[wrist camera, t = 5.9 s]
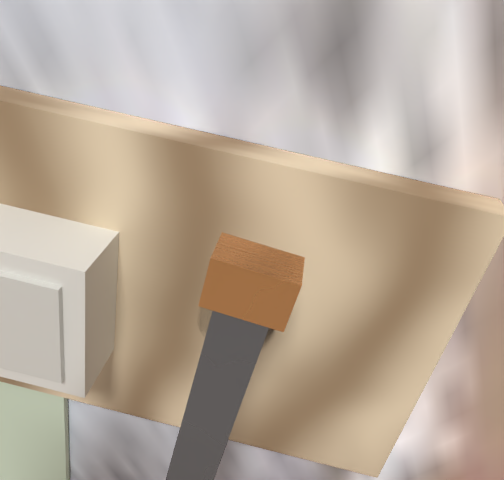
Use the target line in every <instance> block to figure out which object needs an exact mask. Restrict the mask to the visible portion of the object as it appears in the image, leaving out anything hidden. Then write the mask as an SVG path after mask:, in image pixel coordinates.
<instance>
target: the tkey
mask: <svg viewBox="0 0 504 480" xmlns="http://www.w3.org/2000/svg"><path fill="white" fill-rule="evenodd" d="M304 261H305V257H302V256H298V255H295V254H292V253H289V252H285V251H282V250H279V249H275V248H272V247H269V246H266V245H262V244H259V243H256V242H253V241H249V240H246V239H243V238H240V237H236V236H233V235H230V234H226V233H223V232H222V233H221V235H220V238H219V240H218V242H217V244H216V247H215V249H214V251H213V254H212V256H211V258H210V262H209V266H208V270H207V274H206V278H205V282H204V285H203V289H202V293H201V297H200V301H199V305H198V306H199V307H202V308H206V309H209V310H212V315H211V318H210V322H209V326H208V329H207V333H206V336H205V340H204V344H203V347H202V351H201V354H200V358H199V362H198V365H197V369H196V372H195V376H194V380H193V383H192V387H191V390H190V394H189V398H188V401H187V405H186V408H185V412H184V416H183V419H182V423H181V427H180V430H179V434H178V437H177V441H176V445H175V448H174V452H173V455H172V459H171V463H170V466H169V470H168V473H167V477H166V480H214V477H215V474H216V472H217V469H218V466H219V463H220V461H221V458H222V455H223V452H224V450H225V447H226V444H227V441H228V439H229V436H230V433H231V431H232V428H233V425H234V422H235V420H236V417H237V414H238V411H239V409H240V406H241V403H242V401H243V398H244V395H245V392H246V390H247V387H248V384H249V381H250V379H251V376H252V373H253V370H254V368H255V365H256V362H257V360H258V357H259V354H260V351H261V349H262V346H263V343H264V340H265V338H266V335H267V332H268V329H269V328H271V329H274V330H277V331H281V332H284V330H285V328H286V325H287V323H288V320H289V318H290V315H291V312H292V310H293V307H294V305H295V302H296V300H297V297H298V295H299V292H300V289H301V287H302V280H303V270H304Z"/></svg>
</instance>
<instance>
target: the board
mask: <svg viewBox="0 0 504 480" xmlns="http://www.w3.org/2000/svg"><path fill="white" fill-rule="evenodd" d="M0 204H5V205H9V206H13V207H17V208H21V209H26V210H30V211H34V212H38V213H42V214H47V215H51V216H55V217H59V218H63V219H67V220H72V221H76V222H80V223H84V224H88V225H93V226H97V227H101V228H105V229H109V230H114V231H118V232H119V248H118V270H117V293H116V316H115V339H114V350H113V352H112V353H111V355H110V357H109V358H108V360H107V362H106V363H105V365H104V367H103V368H102V370H101V372H100V373H99V375H98V377H97V378H96V380H95V382H94V384H93V385H92V387H91V389H90V390H89V392H88V394H87V395H86V397H85V398H83V397H79V396H75V395H71V394H67V393H63V392H59V391H55V390H51V389H47V388H43V387H39V386H36V385H32V384H28V383H24V382H20V381H16V380H12V379H8V378H4V377H0V381H1V382H4V383H8V384H12V385H16V386H20V387H24V388H28V389H32V390H36V391H40V392H44V393H48V394H51V395H55V396H59V397H63V398H67V399H71V400H75V401H79V402H83V403H87V404H91V405H95V406H98V407H102V408H106V409H110V410H114V411H118V412H122V413H126V414H130V415H134V416H138V417H142V418H145V419H149V420H153V421H157V422H161V423H165V424H169V425H173V426H177V427H181V423H182V419H183V416H184V412H185V408H186V405H187V401H188V398H189V394H190V390H191V387H192V383H193V380H194V376H195V372H196V369H197V365H198V362H199V358H200V354H201V351H202V347H203V344H204V340H205V336H206V333H207V329H208V326H209V322H210V318H211V315H212V310H209V309H206V308H202V307H199V306H198V305H199V301H200V297H201V293H202V289H203V285H204V282H205V278H206V274H207V270H208V266H209V262H210V258H211V256H212V254H213V251H214V249H215V247H216V244H217V242H218V240H219V238H220V235H221V233H222V232H223V233H226V234H230V235H233V236H236V237H240V238H243V239H246V240H249V241H253V242H256V243H259V244H262V245H266V246H269V247H272V248H275V249H279V250H282V251H285V252H289V253H292V254H295V255H298V256H302V257H305V261H304V270H303V280H302V287H301V289H300V292H299V295H298V297H297V300H296V302H295V305H294V307H293V310H292V312H291V315H290V318H289V320H288V323H287V325H286V328H285V330H284V332H281V331H277V330H274V329H271V328H269V329H268V332H267V335H266V338H265V340H264V343H263V346H262V349H261V351H260V354H259V357H258V360H257V362H256V365H255V368H254V370H253V373H252V376H251V379H250V381H249V384H248V387H247V390H246V392H245V395H244V398H243V401H242V403H241V406H240V409H239V411H238V414H237V417H236V420H235V422H234V425H233V428H232V431H231V433H230V436H229V439H228V440H232V441H236V442H239V443H243V444H247V445H251V446H255V447H259V448H263V449H267V450H271V451H275V452H279V453H283V454H286V455H290V456H294V457H298V458H302V459H306V460H310V461H314V462H318V463H322V464H326V465H330V466H334V467H337V468H341V469H345V470H349V471H353V472H357V473H361V474H365V475H369V476H373V477H378V475H379V474H380V472H381V470H382V468H383V466H384V464H385V462H386V460H387V458H388V456H389V454H390V453H391V451H392V449H393V447H394V445H395V443H396V441H397V439H398V437H399V435H400V433H401V432H402V430H403V428H404V426H405V424H406V422H407V420H408V418H409V416H410V414H411V412H412V410H413V409H414V407H415V405H416V403H417V401H418V399H419V397H420V395H421V393H422V391H423V389H424V388H425V386H426V384H427V382H428V380H429V378H430V376H431V374H432V372H433V370H434V368H435V367H436V365H437V363H438V361H439V359H440V357H441V355H442V353H443V351H444V349H445V347H446V346H447V344H448V342H449V340H450V338H451V336H452V334H453V332H454V330H455V328H456V326H457V325H458V323H459V321H460V319H461V317H462V315H463V313H464V311H465V309H466V307H467V305H468V304H469V302H470V300H471V298H472V296H473V294H474V292H475V290H476V288H477V286H478V284H479V283H480V281H481V279H482V277H483V275H484V273H485V271H486V269H487V267H488V265H489V263H490V262H491V260H492V258H493V256H494V254H495V252H496V250H497V248H498V246H499V244H500V242H501V241H502V239H503V237H504V205H503V204H502V202H501V201H500V199H497V198H492V197H488V196H483V195H479V194H475V193H470V192H466V191H462V190H457V189H453V188H448V187H444V186H440V185H435V184H431V183H426V182H422V181H418V180H413V179H409V178H404V177H400V176H396V175H391V174H387V173H382V172H378V171H374V170H369V169H365V168H360V167H356V166H352V165H347V164H343V163H338V162H334V161H330V160H325V159H321V158H316V157H312V156H308V155H303V154H299V153H294V152H290V151H286V150H281V149H277V148H272V147H268V146H264V145H259V144H255V143H250V142H246V141H242V140H237V139H233V138H229V137H224V136H220V135H215V134H211V133H207V132H202V131H198V130H193V129H189V128H185V127H180V126H176V125H171V124H167V123H163V122H158V121H154V120H149V119H145V118H141V117H136V116H132V115H127V114H123V113H119V112H114V111H110V110H105V109H101V108H97V107H92V106H88V105H83V104H79V103H75V102H70V101H66V100H61V99H57V98H53V97H48V96H44V95H39V94H35V93H31V92H26V91H22V90H18V89H13V88H9V87H4V86H0Z"/></svg>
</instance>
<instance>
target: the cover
mask: <svg viewBox="0 0 504 480" xmlns="http://www.w3.org/2000/svg"><path fill="white" fill-rule="evenodd" d="M118 248H119V232H118V231H114V230H109V229H105V228H101V227H97V226H93V225H88V224H84V223H80V222H76V221H72V220H67V219H63V218H59V217H55V216H51V215H47V214H42V213H38V212H34V211H30V210H26V209H21V208H17V207H13V206H9V205H5V204H0V377H4V378H8V379H12V380H16V381H20V382H24V383H28V384H32V385H36V386H39V387H43V388H47V389H51V390H55V391H59V392H63V393H67V394H71V395H75V396H79V397H83V398H85V397H86V395H87V394H88V392H89V390H90V389H91V387H92V385H93V384H94V382H95V380H96V378H97V377H98V375H99V373H100V372H101V370H102V368H103V367H104V365H105V363H106V362H107V360H108V358H109V357H110V355H111V353H112V352H113V350H114V339H115V316H116V293H117V270H118Z"/></svg>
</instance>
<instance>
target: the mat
mask: <svg viewBox="0 0 504 480" xmlns="http://www.w3.org/2000/svg"><path fill="white" fill-rule="evenodd" d="M0 480H70V472H69V432H68V399H67V398H63V397H59V396H55V395H51V394H48V393H44V392H40V391H36V390H32V389H28V388H24V387H20V386H16V385H12V384H8V383H4V382H1V381H0Z"/></svg>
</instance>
